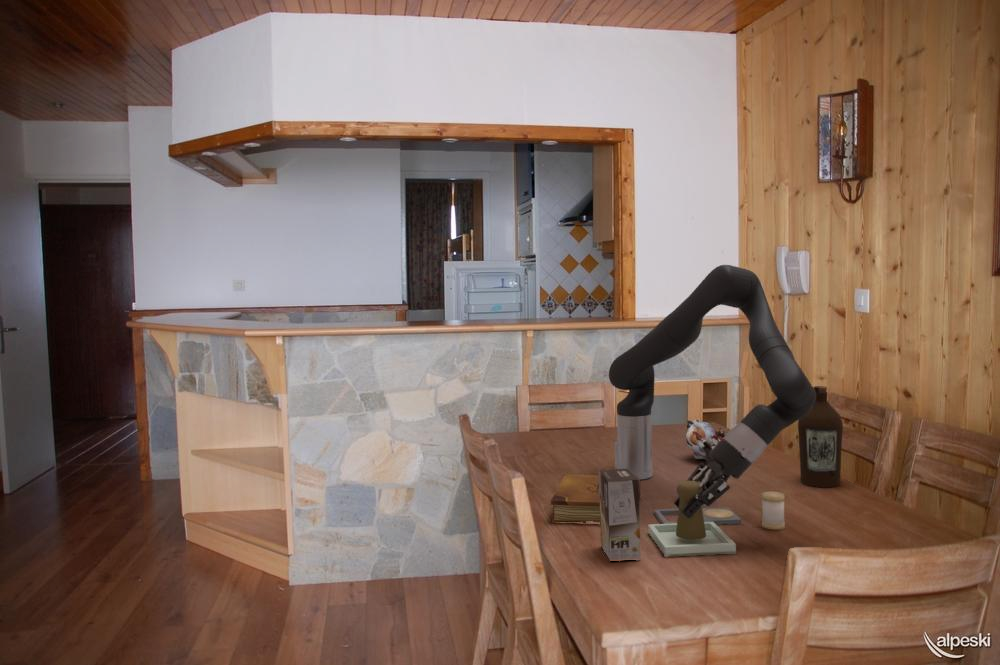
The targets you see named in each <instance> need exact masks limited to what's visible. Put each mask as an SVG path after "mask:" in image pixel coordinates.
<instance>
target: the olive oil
mask: <svg viewBox="0 0 1000 665" xmlns="http://www.w3.org/2000/svg"><path fill="white" fill-rule="evenodd" d="M813 388H814V390H815V392H816V400H815V403H814V405H813V407H812V408H811V409H810V411H809V412H808V413H807V414H805V415H804V416H803V417H802V418H800V419H799V420H797V429H798V445H799V447H798V448H799V449H798V450H799V467H800V468H799V470H800V473H799V474H800V483H802V484H804V485H805V484H806V485H805V486H809V485H810V486H809V487H814V486H816V487H815V488H835V487H834V486H836V487H839V486H840V485H841V469H842V468H841V467H842V464H841V463H842V444H843V430H844V429H843V428H844V424H843V420H842V417H841V415H840V413H839V412H838V411H837V410H836V409H835V408H834V407H833V406H832V405H831V404H830V403H829V402H828V391H827V389H828V388H827V386H823V385H816V386H815V385H814V386H813Z"/></svg>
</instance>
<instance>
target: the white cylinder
mask: <svg viewBox="0 0 1000 665" xmlns="http://www.w3.org/2000/svg"><path fill="white" fill-rule="evenodd" d="M761 500H762V521H761V522H762V523H761V526H762V528H764V529H768V530H771V531H772V530H774V531H775V530H776V531H777V530H778V531H779V530H784V529H785V528H786V522H785V494H784V493H782V492H779V491H764V492H762V493H761Z"/></svg>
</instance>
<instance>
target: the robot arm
mask: <svg viewBox="0 0 1000 665" xmlns="http://www.w3.org/2000/svg"><path fill="white" fill-rule="evenodd" d="M717 306H726V307H730V308H731V307H732V308H735V309H739V310H740V311H741V312H742V313H743V314H744V316H745V317H746V319H747V320H748V322H749V332H748V344H749V347H750V349H751V350H750V351H751V352H752V354H753V356H754V358H755V360H756V361H757V363H758V365H759V367H760V369H761V370H762V371H763V373H764V375H765V378H766V381H767V383H768V385H769V386H770V389H771V391H772V393H773V394H774V396H775V397H776V399H775V400H774V401H772V402H771V403H770V404H768V405H765V404H763V403H762V404H757V405H755V406H754V407H753V408H752V409H751V410H750V411H749V412H748V413H747V414H746V415H745V416H744V417H743V418H742V419H741V420H740V422H738V423H737V424H736V425H735V426H734V427H733V428H731V429H730V430H729V431H728V432H727V433H726V434H725V435H726V436H725V437H724V438H723V439H722V440H721V441H720V442H719V443H718V444H717V445H716V446H715V447H714V448H713V449H712V450H711V451H710V453H709V455H710V456H711V457H712V458H713V461H712V462H711V463H709V464H708V465H707V464H706V465H705V464H704V463H703V462H701V463H699V464H698V465H697V467H696V468H695V469H694V471H692V473H691V474H690V475H689V477H688V478H687V480H686V481H696V482H698V483H700V485H699V490H698V492H697V493H696V495H695V496H694V498H695V499H694V498H692V499H691V500H690V501H689V502H688V503H687V504H686V505H685V506H684V507H683V509H682V510H681V512H682V513H683V514H684V515H685V516H686V517H687V518H691V517H692V515H693V514H694V513H695V512H696V511H697V510H698V509H699V508H700V507H701V506H703V507H704V506H707V507H710V506H711V505H713V503H715V502H716V501H717V500H718V499H720V498H721V496H723V495H724V494H725V493H727V491H729V490H730V488H731V486H730V485H729V484H728V483H727V481H728V480H729V478H730V477H732V478H734V479H739V478H740V477H742V476H743V474H745V472H746V471H747V470H748V469H749V468H750V467H751V466H752V465H753V463H754V462H756V461H757V459H758V458H759V457H760V456H761V455H762V454H763V452H764V450H766V448H767V447H768V445H770V444H771V443H772V442H773V441H774V440H775V438H776V437H777V436H778V435H779V434H780V432H782V431H783V430H784V429H785V430H786V428H788V427H790V426H791V425H793V424H794V423H795V422H798V420H799V419H800V418H802V417H803V416H804V415H805V414H807V413H808V412H809V411H810V409H811V408H812V407H813V405H814V403H815V400H816V392H815V390H814V388H813V387H814V386H813V385H812V384H811V382H810V381H809V379H808V377H807V376H806V375H805V373H804V371H803V370H802V368H801V367H800V365H799V364H798V363H797V360H796V359H795V356H794V354H793V352H792V350H791V348H790V347H789V345H788V343H787V342H786V340H785V339H784V336H783V335H782V333H781V331H780V330H779V328H778V326H777V323H776V322H775V321H776V320H775V318H774V317H773V316H774V315H773V314H772V310H771V308H770V305H769V302H768V299H767V297H766V294H765V291H764V288H763V285H762V283H761V280H760V279H759V276H758V275H757V274H756V273H755V272H753V271H752V270H749V269H747V268H743V267H738V266H736V265H735V266H734V265H731V264H721V265H717V266H716V267H714V268H713V269H712V270H711V271H710V272H709V273H708V274H707V275H706V276H705V277H704V279H703V280H701V282H700V283H699V284H698V285H697V286H696V288H695V289H694V290H693V291H692V292H691V293H690V294H689V295H688V297H687V298H686V299H684V301H682V302H681V303H680V304H679V305H677V307H676V308H675V309H674V310H673V311H671V312H670V313H669V314H667V316H665V317H664V318H663V319H662V320H661V321H659V323H658V324H657V325H656V326H655V327H654V328H653V329H652V330H650V331H649V332H648V333H647V334H645V335H644V337H642V339H640V340H639V341H638V342H637V343H636V344H634V345H633V346H632V347H631V348H628V349H627V350H626V351H625V352H623V353H622V354H620V355H618V357H616V358H615V359H614V360H613V361H612V362H611V364H610V367H609V371H608V379H609V381H610V384H611V385H612V386H613V387H614V388H616V389H618V390H622V391H628V393H627V395H626V396H625V397H623V399H622V400H621V401H619V402H618V403H617V404H616V422H617V423H616V428H617V429H616V431H617V439H616V440H615V441H614V469H629V470H630V471H631V472H632V473H633V474H634V475H635V476H636V477H638V478H639V479H640V480H647V479H651V477H653V443H652V442H653V437H652V436H653V435H652V407H653V405H654V401H655V400H654V399H655V367H654V366H656V365H658V364H660V363H663V362H665V361H668V360H670V359H672V358H674V357H676V356H678V355H679V354H681V353H682V352H684V351H685V350H686V349H687V348H689V347H690V346H692V344H694V343H695V342H696V341H697V340H698V338H700V337H699V336H700V334H701V332H702V328H703V321H704V317H705V316H706V315H707V314H709V312H710V311H712V310H713V309H714V308H717ZM679 501H680V497H679V496H678V497H677V498H676V499H675V500H674V502H673V503H674V505H675V507H676V508H677V509H679Z"/></svg>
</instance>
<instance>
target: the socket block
mask: <svg viewBox="0 0 1000 665" xmlns="http://www.w3.org/2000/svg"><path fill="white" fill-rule="evenodd" d="M678 510H679V508H665V509H663V508H662V509H653V515H654V514H655V515H654V516H655V517H656V519H657V518H658V519H659V520H658V519H657V520H658V521H659V523H660V524H661V523H662V524H672V523H677V521H668V519H666V518H665V516H671V515H673V516H674V515H678ZM702 512H703V518H704V522H714V523H715V524H716V525H717V526H721V525H722V524H728V525H742V519H741V518H740V517H739V516H738V515H737V514H736V513H734V512H733V510H731V508H729V507H725V506H724V507H723V506H721V507H704V508H703V507H702ZM722 526H723V525H722Z"/></svg>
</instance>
